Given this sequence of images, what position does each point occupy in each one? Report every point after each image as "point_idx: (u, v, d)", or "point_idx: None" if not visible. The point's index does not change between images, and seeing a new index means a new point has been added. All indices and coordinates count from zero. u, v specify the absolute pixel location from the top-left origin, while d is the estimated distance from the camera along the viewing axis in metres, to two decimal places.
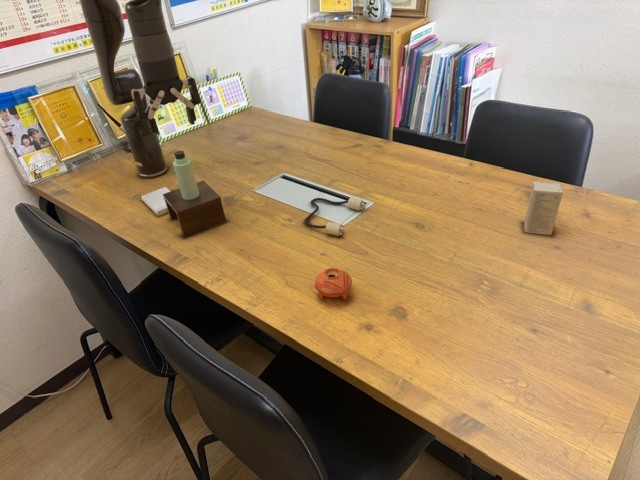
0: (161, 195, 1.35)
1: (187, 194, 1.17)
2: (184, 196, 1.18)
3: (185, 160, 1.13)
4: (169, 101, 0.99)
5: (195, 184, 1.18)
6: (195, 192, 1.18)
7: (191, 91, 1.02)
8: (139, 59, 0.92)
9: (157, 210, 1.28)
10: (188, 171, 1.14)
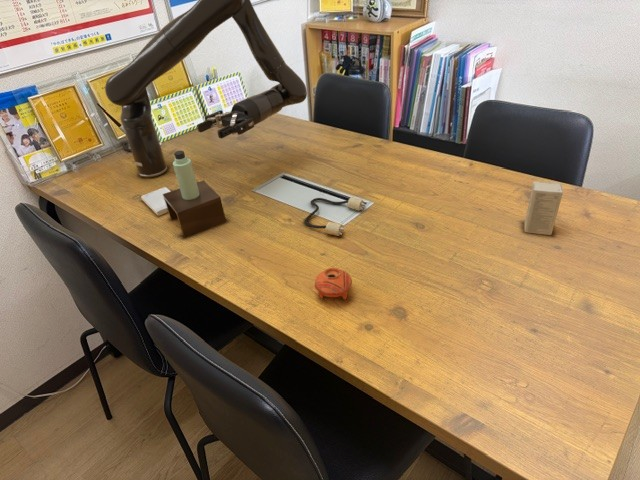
0: (161, 195, 1.35)
1: (187, 194, 1.17)
2: (184, 196, 1.18)
3: (185, 160, 1.13)
4: None
5: (195, 184, 1.18)
6: (195, 192, 1.18)
7: (215, 119, 1.26)
8: (261, 116, 1.26)
9: (157, 210, 1.28)
10: (188, 171, 1.14)
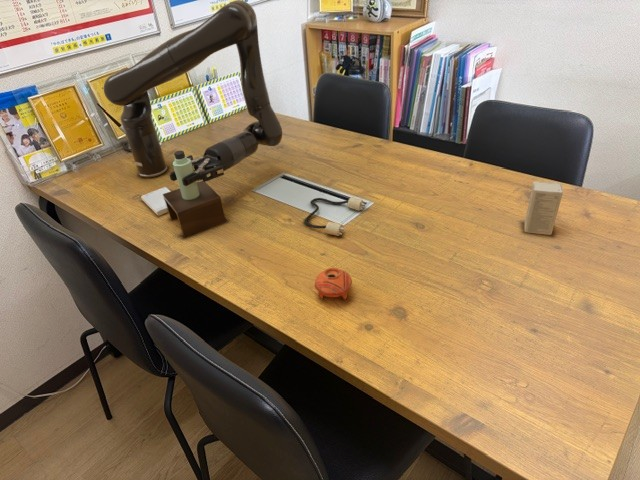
0: (161, 195, 1.35)
1: (187, 194, 1.17)
2: (184, 196, 1.18)
3: (185, 160, 1.13)
4: None
5: (195, 184, 1.18)
6: (195, 192, 1.18)
7: None
8: (235, 160, 1.24)
9: (157, 210, 1.28)
10: (188, 171, 1.14)
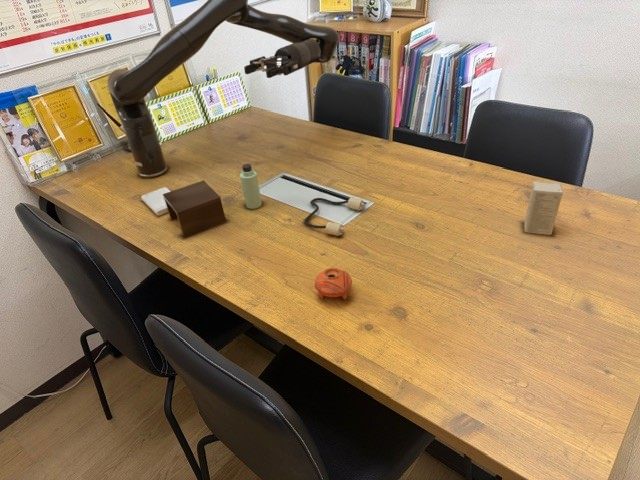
0: (161, 195, 1.35)
1: (252, 204, 1.27)
2: (248, 205, 1.27)
3: (252, 172, 1.23)
4: None
5: (259, 194, 1.27)
6: (259, 202, 1.28)
7: (259, 64, 1.33)
8: (302, 62, 1.34)
9: (157, 210, 1.28)
10: (254, 182, 1.24)
